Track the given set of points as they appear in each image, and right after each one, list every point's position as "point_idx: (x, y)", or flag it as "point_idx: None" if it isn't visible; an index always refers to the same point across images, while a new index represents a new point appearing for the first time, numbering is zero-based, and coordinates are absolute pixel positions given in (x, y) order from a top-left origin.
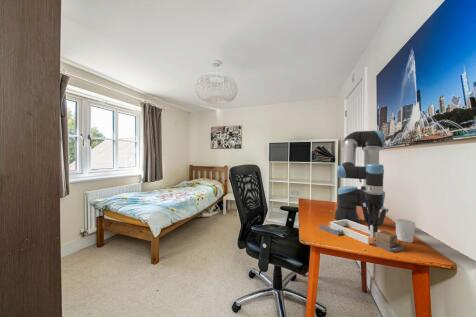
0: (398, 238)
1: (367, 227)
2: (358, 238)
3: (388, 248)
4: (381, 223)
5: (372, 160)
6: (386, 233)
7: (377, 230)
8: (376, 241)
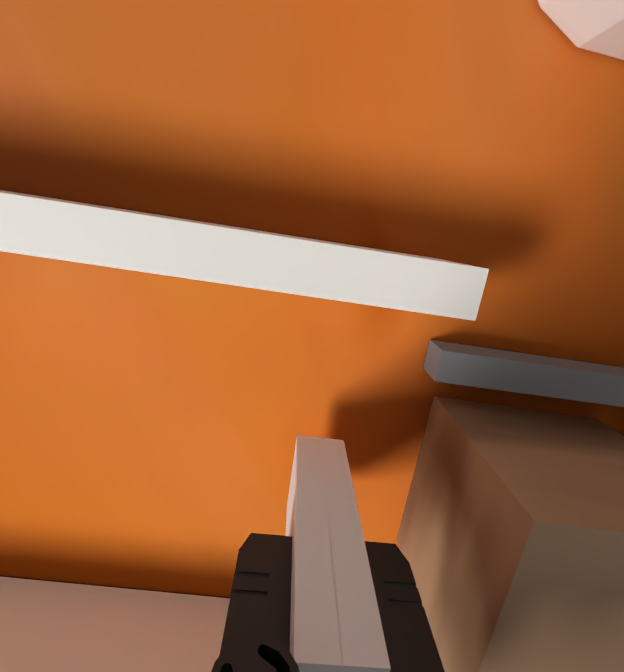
0: (583, 29)
1: (55, 257)
2: None
3: None
4: None
5: None
6: (614, 639)
7: (412, 583)
8: None
